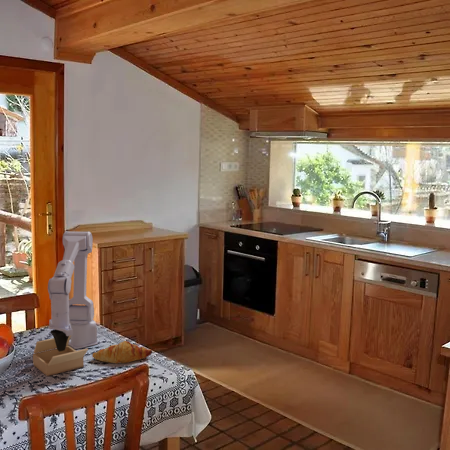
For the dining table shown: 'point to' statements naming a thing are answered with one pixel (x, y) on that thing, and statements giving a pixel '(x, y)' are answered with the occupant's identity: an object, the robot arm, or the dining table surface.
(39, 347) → the flap
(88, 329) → the robot arm
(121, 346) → the croissant
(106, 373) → the dining table surface
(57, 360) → the flap
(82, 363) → the carton
